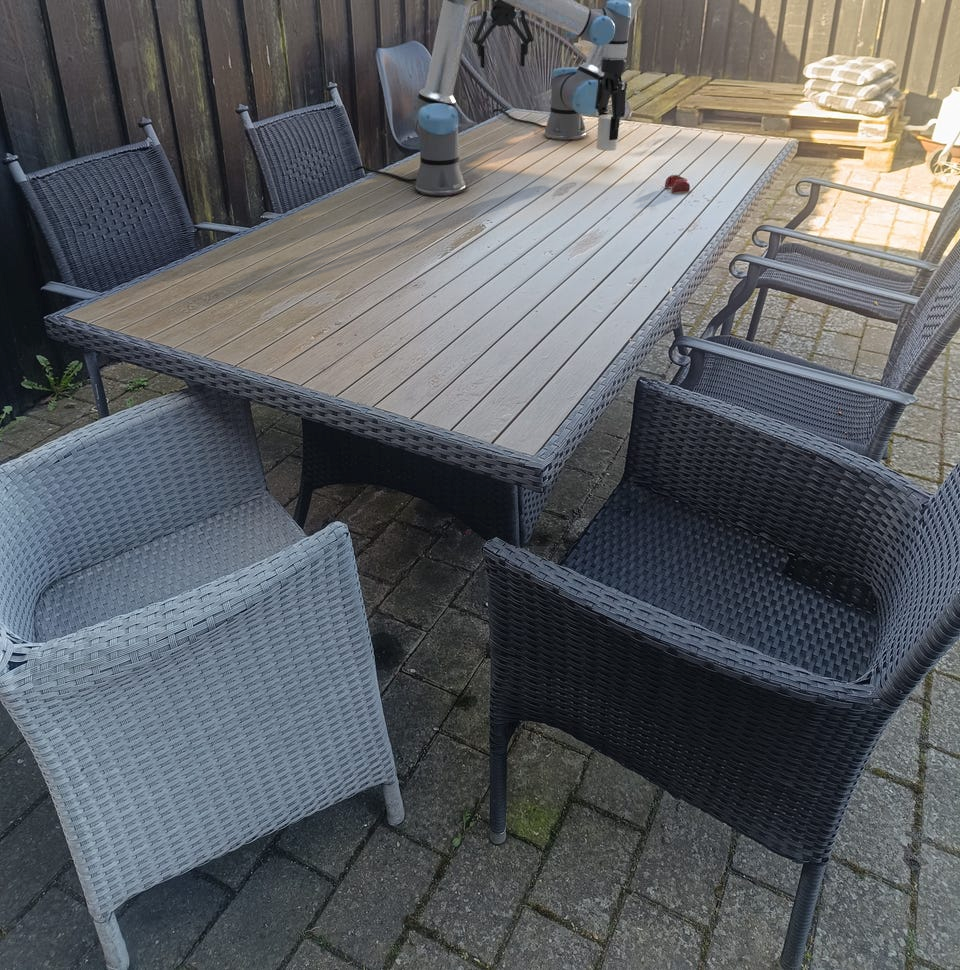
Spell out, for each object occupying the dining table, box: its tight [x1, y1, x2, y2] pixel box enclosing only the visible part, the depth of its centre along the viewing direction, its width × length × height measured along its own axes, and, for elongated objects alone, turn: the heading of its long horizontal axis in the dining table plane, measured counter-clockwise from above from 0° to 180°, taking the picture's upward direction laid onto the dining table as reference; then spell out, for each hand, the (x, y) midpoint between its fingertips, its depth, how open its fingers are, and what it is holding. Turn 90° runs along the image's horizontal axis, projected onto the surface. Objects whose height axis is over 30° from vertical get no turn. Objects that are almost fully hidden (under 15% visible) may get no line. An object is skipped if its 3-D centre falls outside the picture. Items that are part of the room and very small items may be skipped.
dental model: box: [664, 174, 691, 193], centre depth 257 cm, size 6×4×8 cm
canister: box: [595, 113, 619, 152], centre depth 272 cm, size 7×7×10 cm
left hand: (607, 136), depth 272 cm, fingers closed on canister, 7 cm apart
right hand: (502, 66), depth 279 cm, fingers open, 13 cm apart
